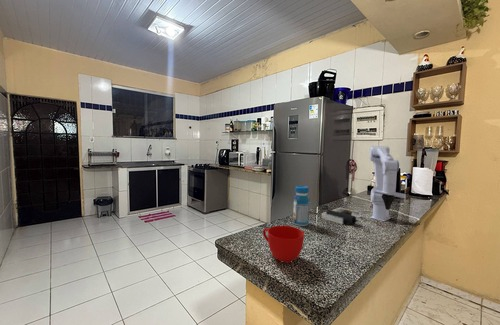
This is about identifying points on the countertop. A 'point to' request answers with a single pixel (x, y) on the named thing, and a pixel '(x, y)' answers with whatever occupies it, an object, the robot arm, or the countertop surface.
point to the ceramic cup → (284, 242)
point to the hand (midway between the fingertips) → (387, 209)
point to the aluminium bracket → (339, 219)
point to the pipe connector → (344, 216)
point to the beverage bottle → (301, 206)
